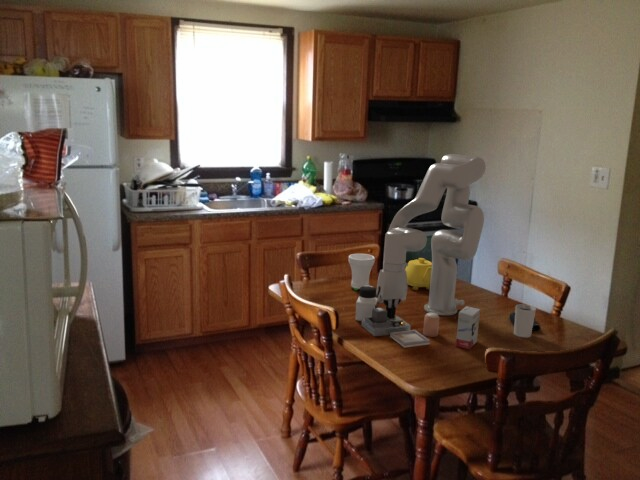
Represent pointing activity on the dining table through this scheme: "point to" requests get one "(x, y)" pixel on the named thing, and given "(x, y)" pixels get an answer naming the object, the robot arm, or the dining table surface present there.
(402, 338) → the pad
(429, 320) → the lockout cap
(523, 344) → the dining table surface
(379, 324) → the breaker panel
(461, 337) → the ink box
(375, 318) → the toggle
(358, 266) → the cup
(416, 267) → the teapot
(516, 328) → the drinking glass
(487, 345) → the dining table surface
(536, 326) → the electronic device
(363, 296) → the medicine bottle
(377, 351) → the dining table surface
